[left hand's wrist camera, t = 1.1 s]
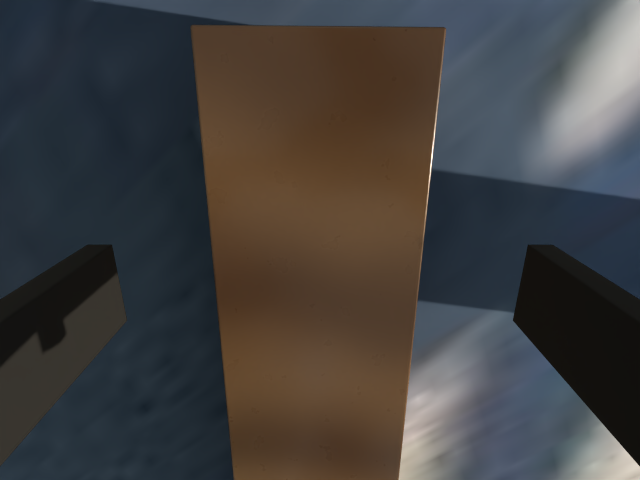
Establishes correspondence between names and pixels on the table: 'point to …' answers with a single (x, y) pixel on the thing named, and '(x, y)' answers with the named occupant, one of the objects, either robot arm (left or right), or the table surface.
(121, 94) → the table surface
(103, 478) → the table surface
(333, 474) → the wide beam
